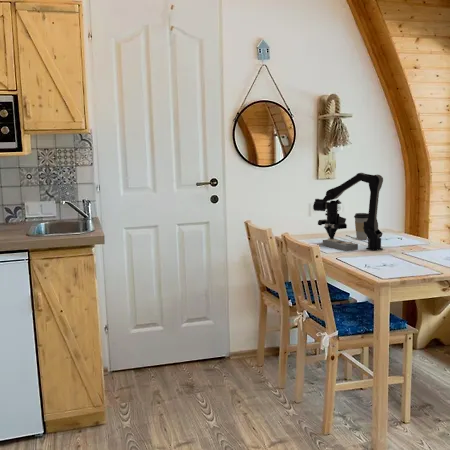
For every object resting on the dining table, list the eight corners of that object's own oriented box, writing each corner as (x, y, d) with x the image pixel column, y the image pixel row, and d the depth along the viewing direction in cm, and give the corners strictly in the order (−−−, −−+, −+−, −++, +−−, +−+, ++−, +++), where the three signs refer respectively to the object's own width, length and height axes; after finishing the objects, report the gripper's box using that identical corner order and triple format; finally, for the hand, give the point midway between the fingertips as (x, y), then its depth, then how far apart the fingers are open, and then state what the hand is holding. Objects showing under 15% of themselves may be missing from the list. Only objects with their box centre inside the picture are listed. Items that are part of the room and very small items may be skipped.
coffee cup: (366, 240, 304) (366, 215, 302) (350, 239, 310) (351, 214, 308) (372, 238, 312) (372, 213, 309) (357, 236, 317) (357, 212, 315)
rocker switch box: (357, 249, 279) (357, 243, 278) (346, 251, 275) (346, 245, 275) (333, 243, 296) (333, 238, 296) (322, 245, 293) (322, 239, 292)
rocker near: (352, 243, 279) (352, 241, 279) (347, 244, 277) (346, 242, 277) (344, 244, 285) (344, 242, 285) (339, 244, 283) (339, 242, 283)
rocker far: (340, 242, 288) (340, 240, 288) (334, 243, 286) (335, 241, 286) (332, 239, 293) (333, 237, 293) (327, 240, 292) (327, 238, 292)
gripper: (354, 212, 284) (354, 240, 287) (333, 209, 301) (332, 235, 303) (338, 214, 279) (338, 242, 282) (317, 210, 296) (317, 237, 298)
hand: (331, 239), depth 291 cm, fingers closed, pressing on rocker far
